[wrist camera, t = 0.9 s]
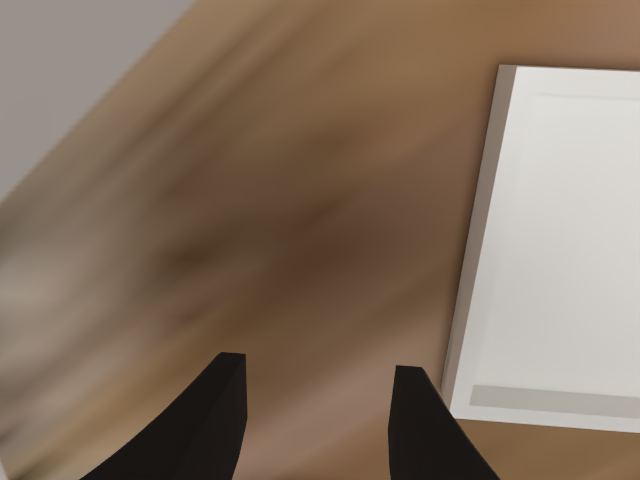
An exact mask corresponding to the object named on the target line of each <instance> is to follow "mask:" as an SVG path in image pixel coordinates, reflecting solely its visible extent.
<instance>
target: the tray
mask: <svg viewBox="0 0 640 480" xmlns="http://www.w3.org/2000/svg"><path fill="white" fill-rule="evenodd" d="M440 388H441V391H442V395H443V399H444V403H445V405H446V407H447V408H448V410H449V411H450V413H451V414H452V416H453V417H454V418H459V419H471V420H484V421H496V422H509V423H521V424H534V425H546V426H559V427H572V428H584V429H597V430H609V431H622V432H634V433H640V70H618V69H595V68H572V67H549V66H526V65H503V64H499V68H498V74H497V79H496V85H495V90H494V96H493V101H492V107H491V112H490V118H489V123H488V129H487V134H486V140H485V145H484V151H483V156H482V162H481V167H480V173H479V178H478V184H477V189H476V195H475V200H474V206H473V211H472V217H471V222H470V228H469V233H468V239H467V244H466V250H465V255H464V261H463V266H462V272H461V277H460V283H459V288H458V294H457V299H456V305H455V310H454V316H453V321H452V327H451V332H450V338H449V343H448V349H447V354H446V360H445V365H444V371H443V376H442V382H441V387H440Z"/></svg>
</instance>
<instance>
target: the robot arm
mask: <svg viewBox="0 0 640 480" xmlns="http://www.w3.org/2000/svg"><path fill="white" fill-rule="evenodd" d="M246 422H247V387H246V355H245V354H239V353H226V352H221V353H220V354H218V355H217V356H216V357H215V358H214V359H213V361H212V362H211V363H210V364H209V365H208V366H207V367H206V368H205V369H204V370H203V371H202V372H201V374H200V375H199V376H198V377H197V378H196V379H195V380H194V381H193V382H192V383H191V384H190V385H189V386H188V387H187V388H186V389H185V390H184V391H183V392H182V393H181V394H180V395H179V396H178V397H177V398H176V399H175V400H174V401H173V402H172V403H171V404H170V405H169V406H168V407H167V408H166V409H165V410H164V411H163V412H162V413H161V414H160V415H158V416H157V417H156V418H155V419H154V420H153V421H152V422H151V423H149V424H148V425H147V426H146V427H145V428H144V429H143V430H142V431H141V432H139V433H138V434H137V435H136V436H135V437H134V438H133V439H131V440H130V441H129V442H128V443H127V444H125V445H124V446H123V447H122V448H121V449H119V450H118V451H117V452H116V453H114V454H113V455H112V456H111V457H109V458H108V459H107V460H105V461H104V462H103V463H101V464H100V465H99V466H97V467H96V468H95V469H93V470H92V471H91V472H89V473H88V474H87V475H85V476H84V477H82V478H81V479H79V480H232V477H233V474H234V471H235V468H236V465H237V461H238V458H239V454H240V450H241V445H242V441H243V436H244V432H245V427H246ZM388 444H389V465H390V475H391V480H500V478H499V477H498V476H497V475H496V473H495V472H494V471H493V470H492V469H491V467H490V466H489V465H488V463H487V462H486V461H485V460H484V458H483V457H482V456H481V455H480V453H479V452H478V451H477V449H476V448H475V447H474V445H473V444H472V443H471V441H470V440H469V439H468V437H467V436H466V434H465V433H464V431H463V430H462V429H461V427H460V426H459V424H458V423H457V422H456V420H455V419H454V417H453V416H452V414H451V413H450V411H449V410H448V408H447V407H446V405H445V403H444V402H443V400H442V399H441V397H440V396H439V394H438V392H437V391H436V389H435V387H434V386H433V384H432V382H431V381H430V379H429V377H428V375H427V374H426V372H425V371H424V369H423V368H422V367H413V366H400V365H396V371H395V378H394V386H393V394H392V401H391V409H390V417H389V424H388Z"/></svg>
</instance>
